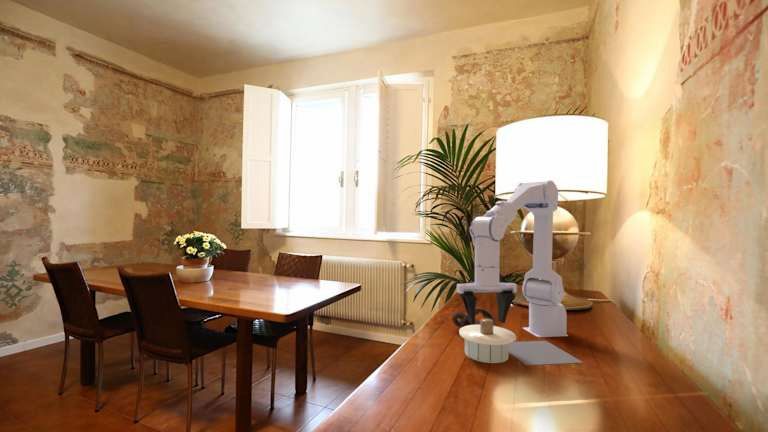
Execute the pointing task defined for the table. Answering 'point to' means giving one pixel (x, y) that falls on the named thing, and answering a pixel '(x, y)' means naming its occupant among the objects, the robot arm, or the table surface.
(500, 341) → the lid
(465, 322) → the dark brown rounded loops
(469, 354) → the bowl
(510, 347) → the mat
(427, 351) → the table surface
